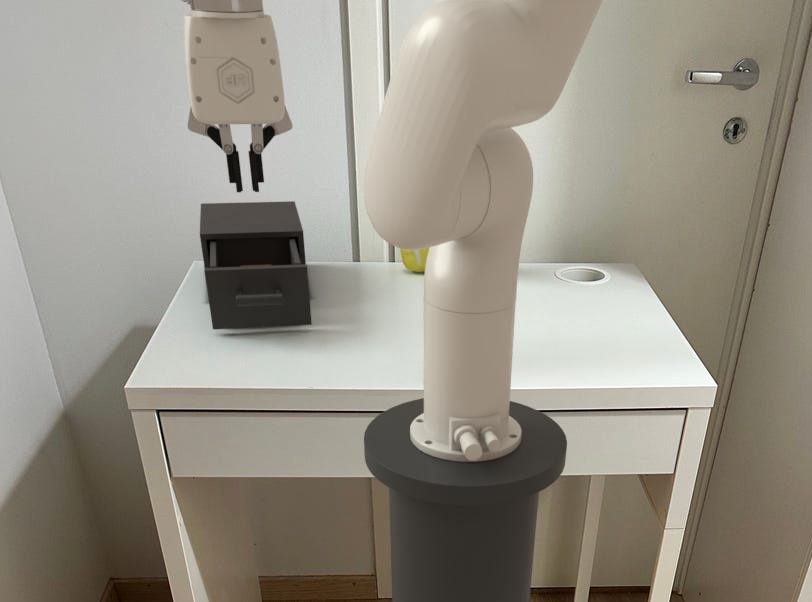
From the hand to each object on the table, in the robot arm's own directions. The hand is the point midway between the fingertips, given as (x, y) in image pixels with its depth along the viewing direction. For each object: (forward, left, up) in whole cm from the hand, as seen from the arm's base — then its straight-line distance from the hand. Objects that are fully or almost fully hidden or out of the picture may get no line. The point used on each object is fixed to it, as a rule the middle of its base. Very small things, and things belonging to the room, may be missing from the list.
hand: (247, 188), depth 107 cm
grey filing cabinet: (+31, 0, -20) cm, 37 cm away
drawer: (+14, 0, -19) cm, 24 cm away
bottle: (+33, -29, -20) cm, 48 cm away
